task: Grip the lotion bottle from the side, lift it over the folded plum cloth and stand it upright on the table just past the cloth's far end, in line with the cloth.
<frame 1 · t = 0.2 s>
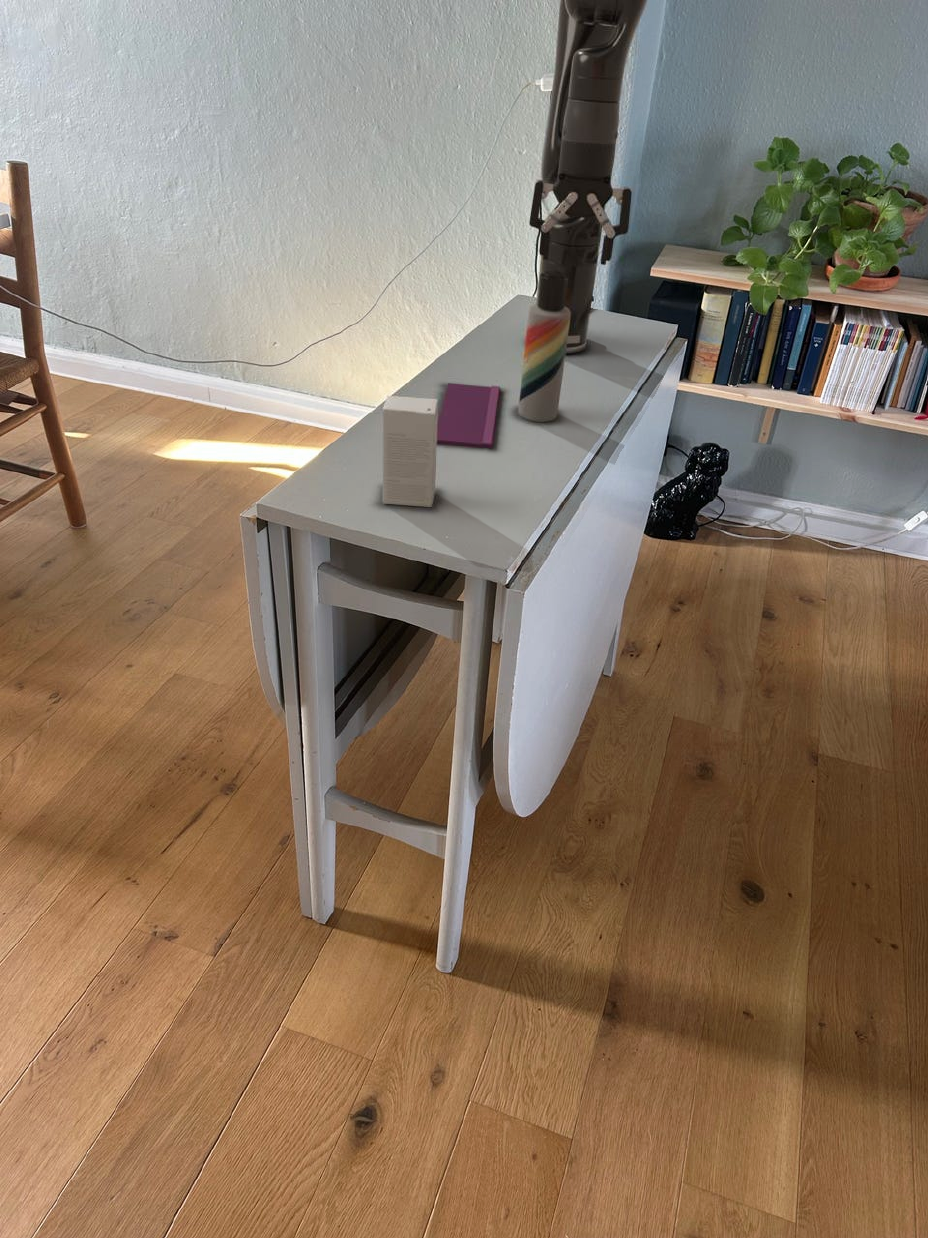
hand: (574, 261, 132), 17 cm above the table, tool pointing down, fingers open, 8 cm apart
lotion bottle: (537, 415, 129), on the table
cosmetic box: (408, 499, 107), on the table
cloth: (468, 415, 128), on the table
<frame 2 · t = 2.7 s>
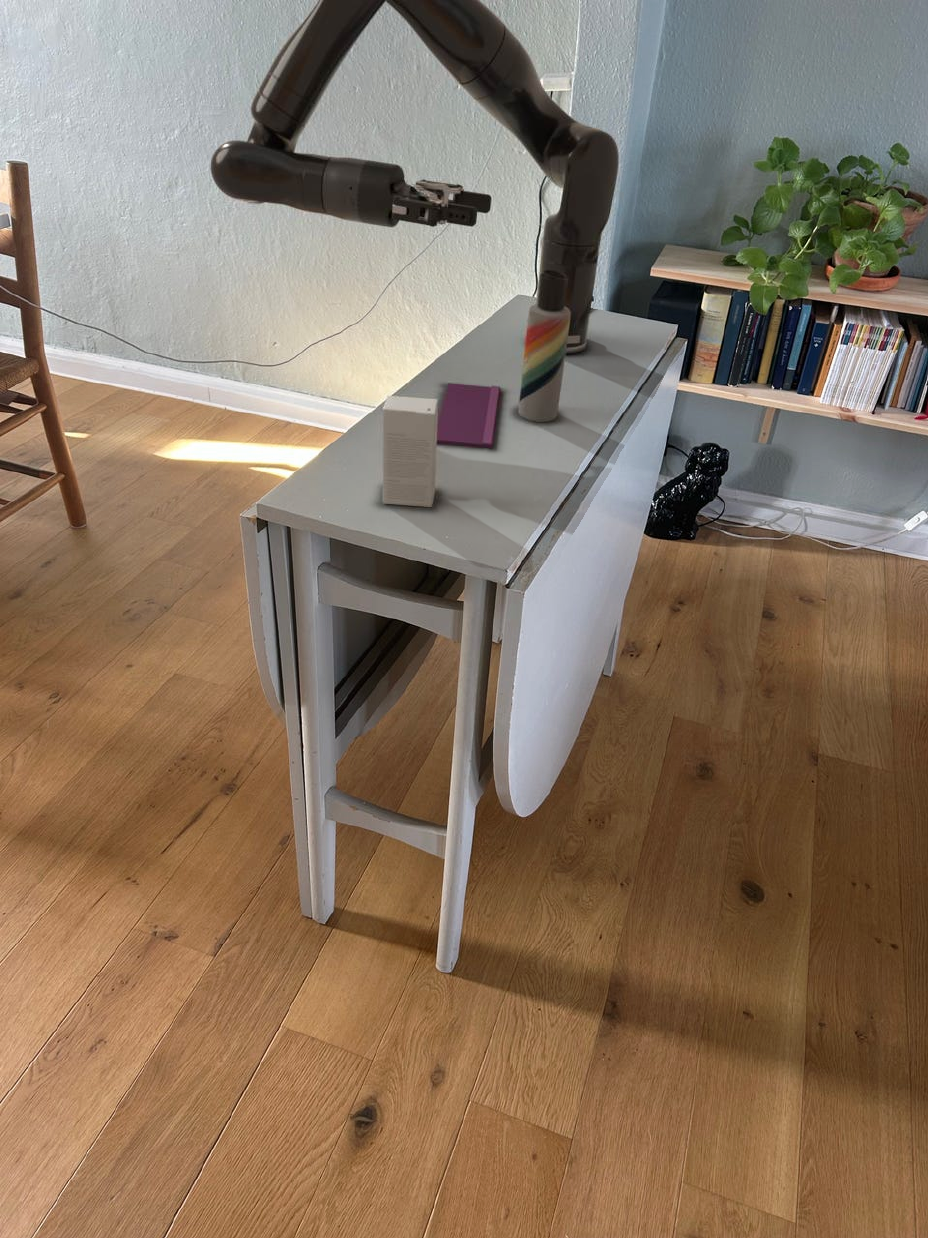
hand: (483, 210, 115), 26 cm above the table, tool horizontal, fingers open, 8 cm apart
nothing on the table moved.
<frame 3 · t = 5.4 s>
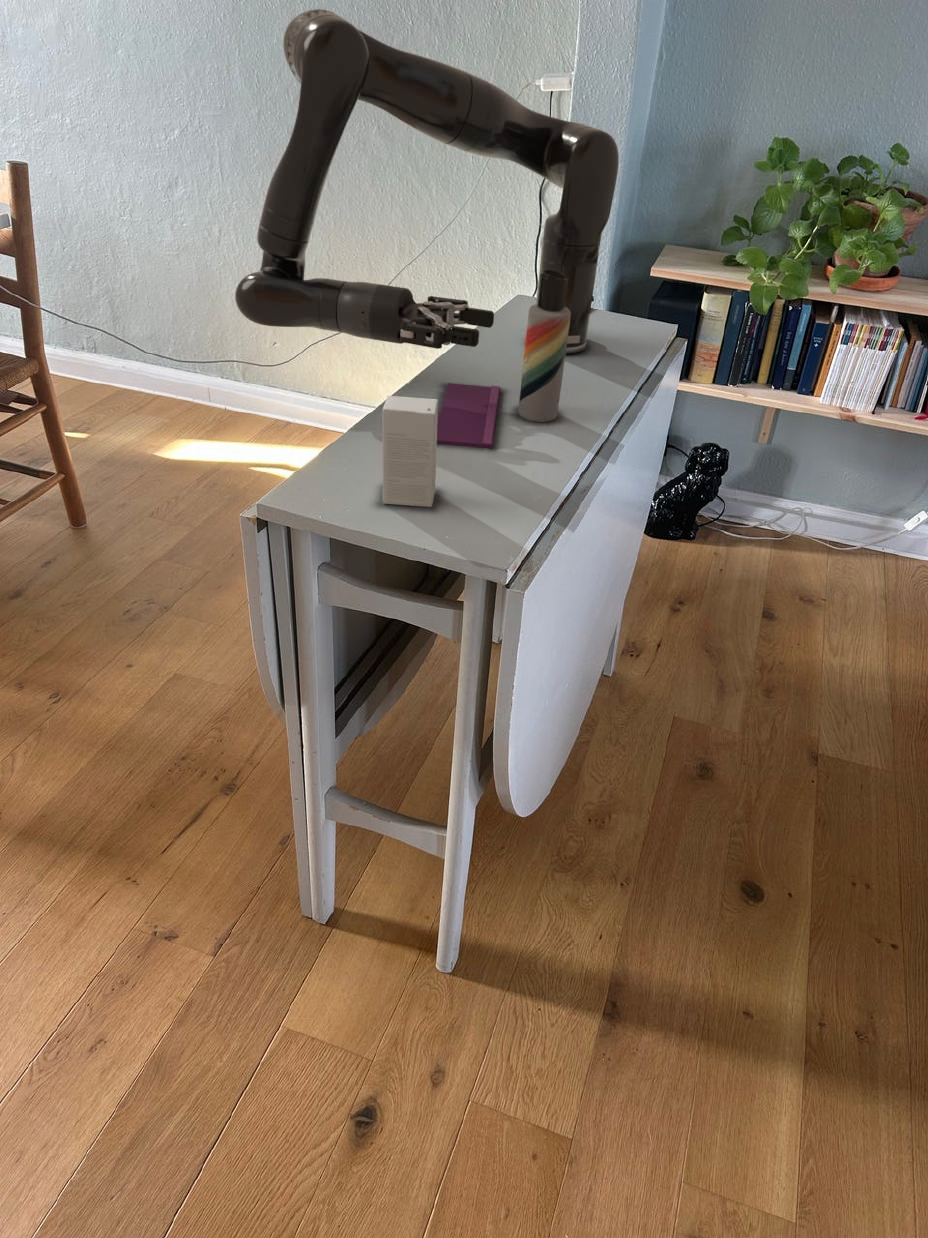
hand: (485, 328, 124), 11 cm above the table, tool horizontal, fingers open, 8 cm apart
nothing on the table moved.
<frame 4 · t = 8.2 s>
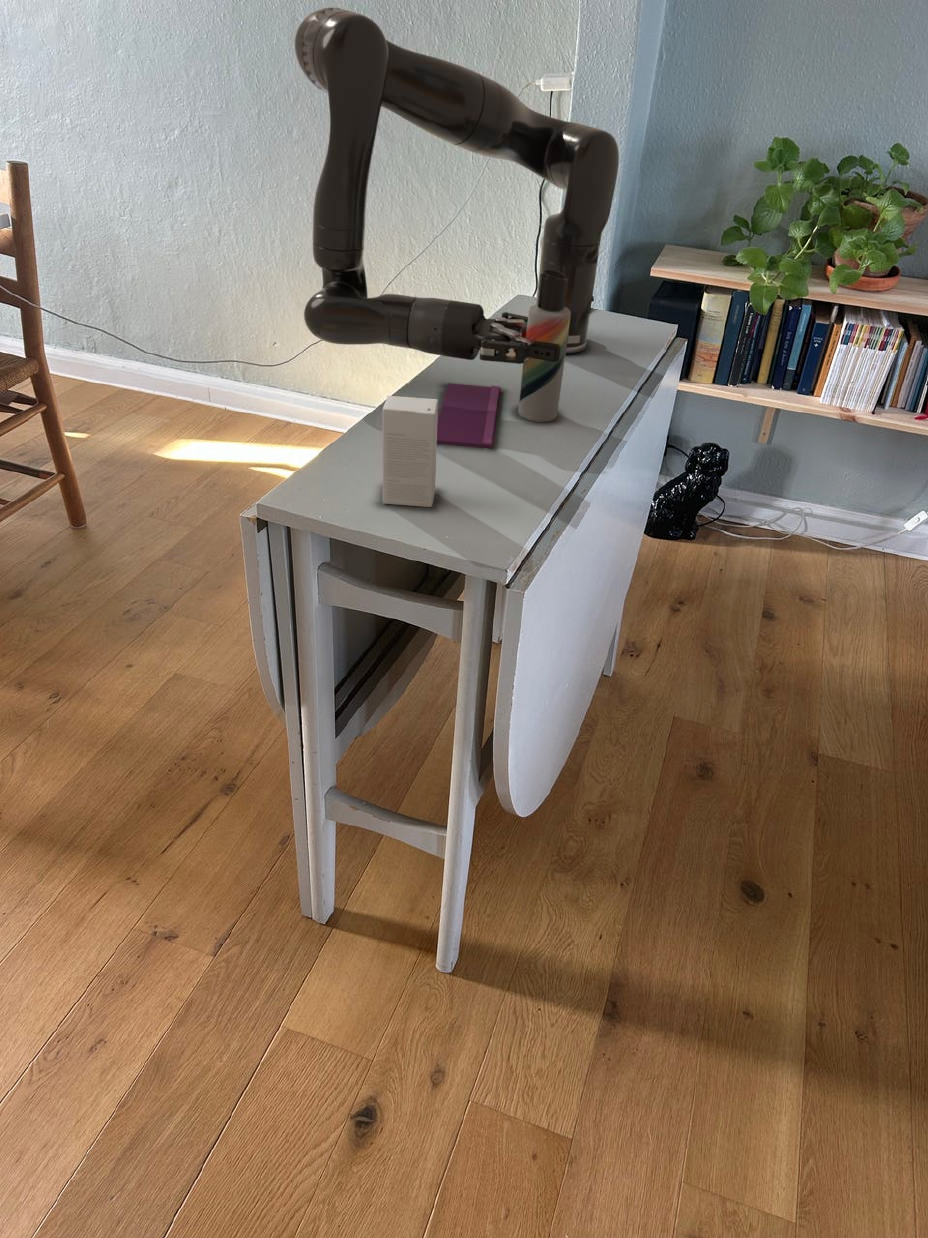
hand: (563, 345, 123), 11 cm above the table, tool horizontal, fingers closed on lotion bottle, 5 cm apart
lotion bottle: (537, 415, 129), on the table, touching gripper
everything else where it was.
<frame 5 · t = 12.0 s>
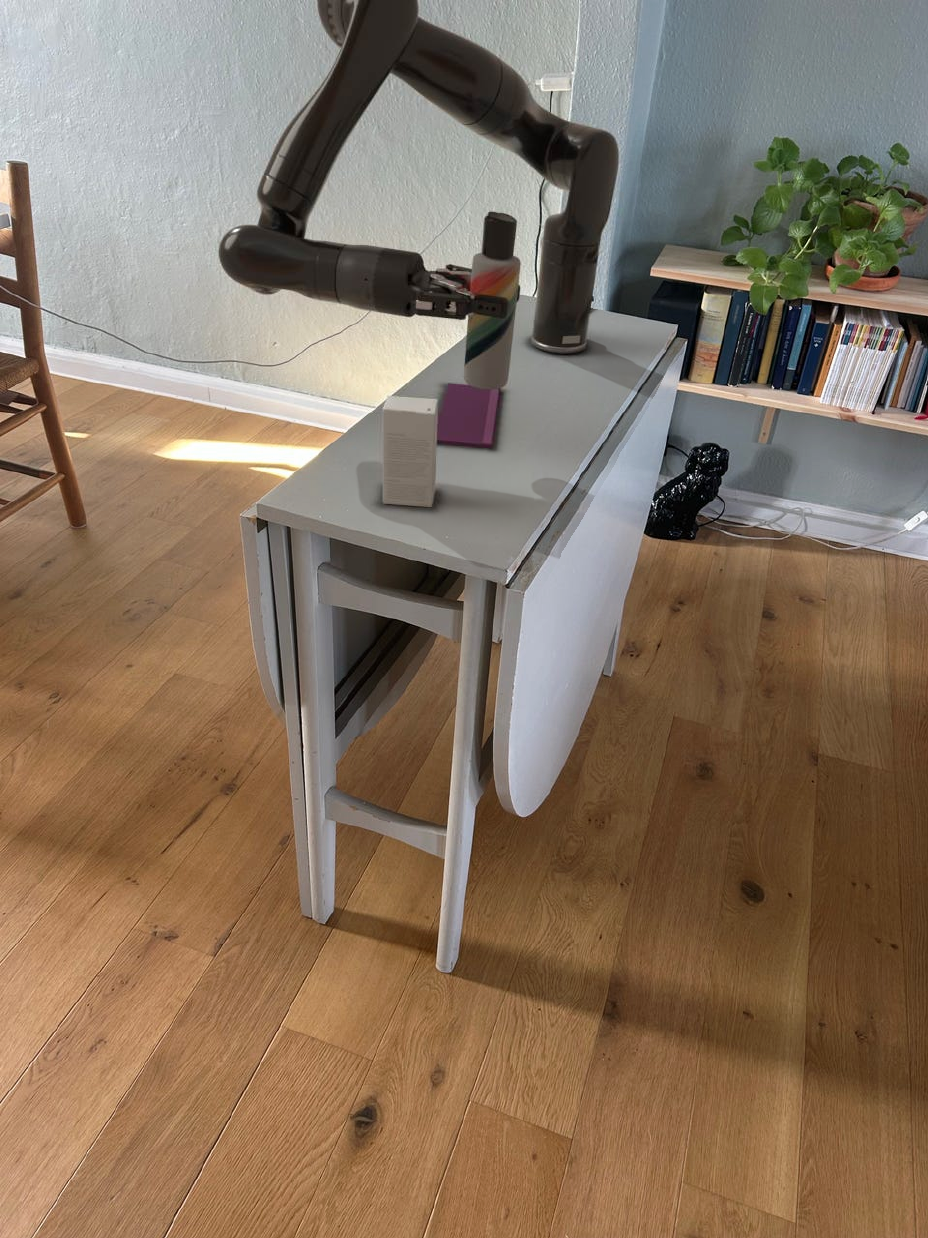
hand: (513, 301, 107), 20 cm above the table, tool horizontal, fingers closed on lotion bottle, 5 cm apart
lotion bottle: (485, 382, 114), point 9 cm above the table, touching gripper
everything else where it was.
when the fingers open (11 cm above the table, at t = 15.7 s): lotion bottle stays where it is, on the table.
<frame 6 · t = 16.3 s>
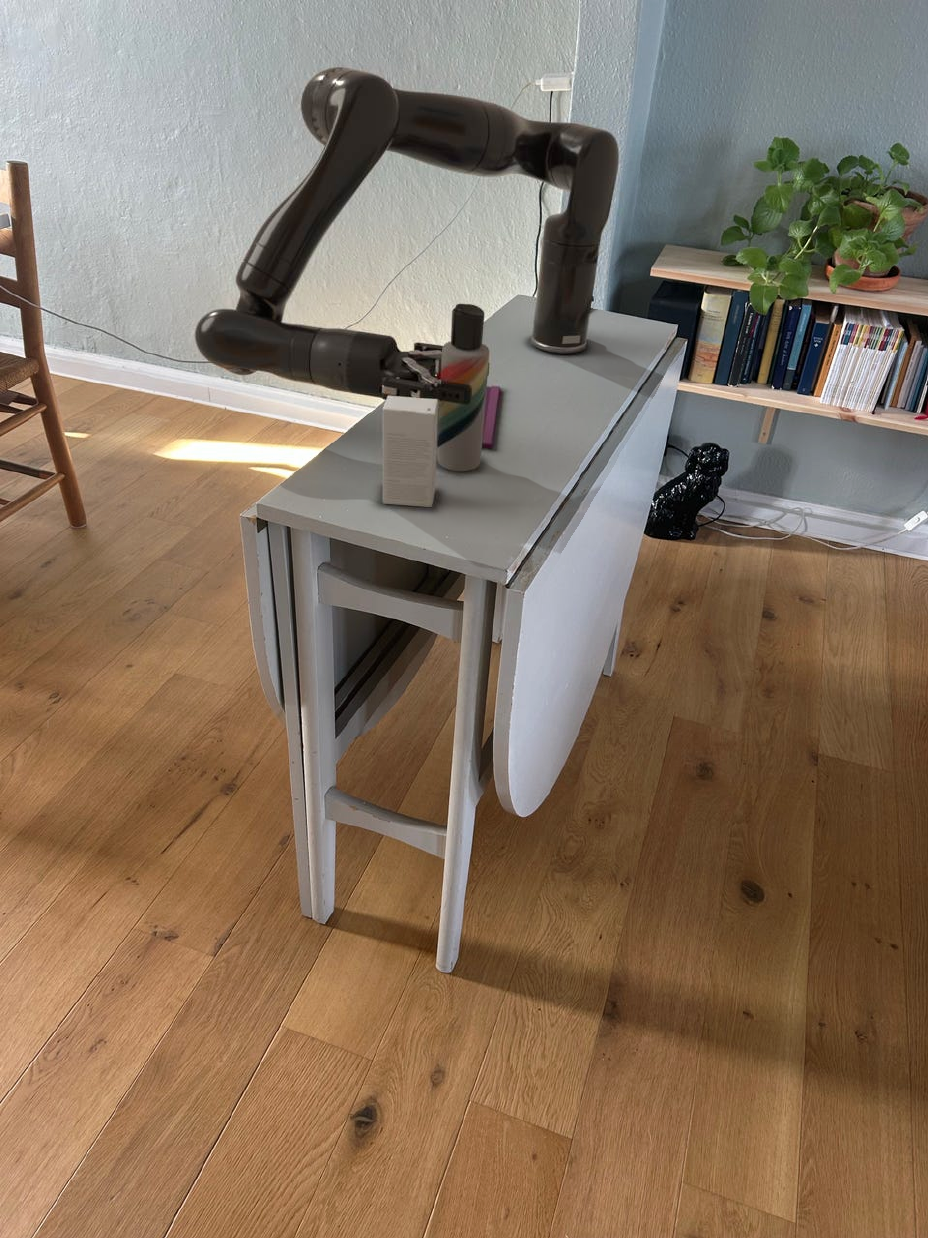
hand: (480, 382, 109), 11 cm above the table, tool horizontal, fingers open, 8 cm apart
lotion bottle: (458, 463, 116), on the table
everything else where it was.
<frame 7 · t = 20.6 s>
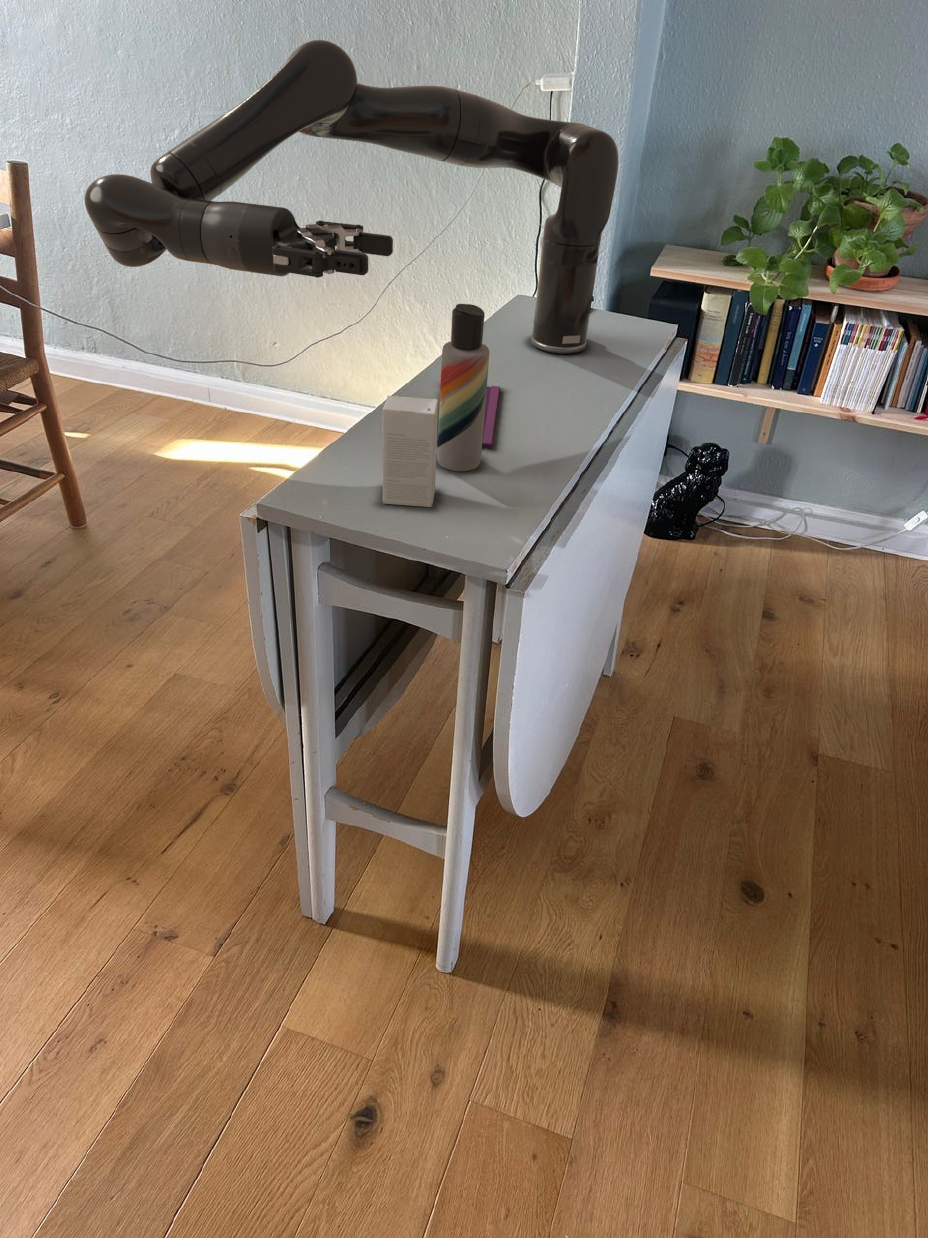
hand: (380, 255, 103), 24 cm above the table, tool horizontal, fingers open, 8 cm apart
nothing on the table moved.
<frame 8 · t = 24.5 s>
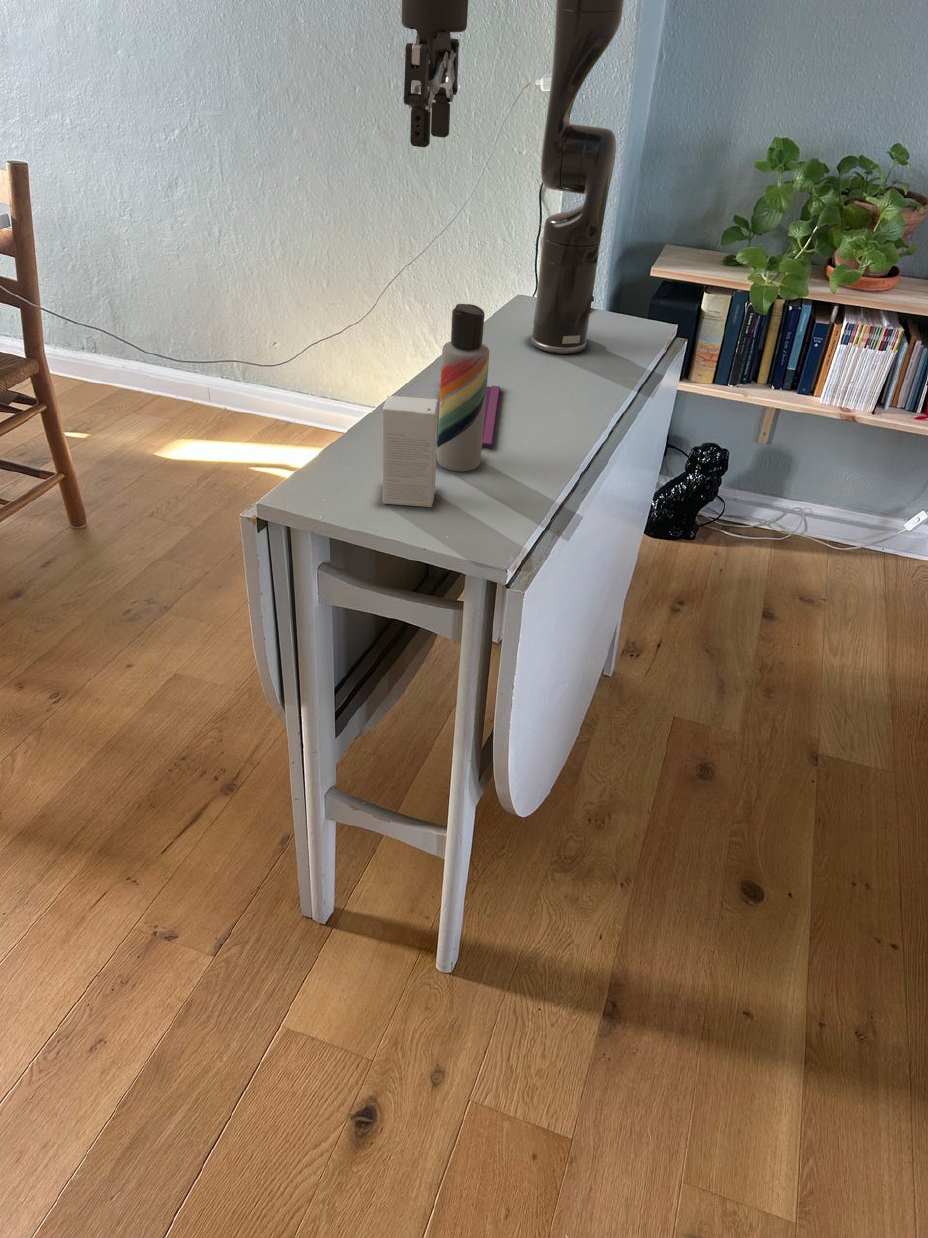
hand: (430, 141, 110), 34 cm above the table, tool pointing down, fingers open, 8 cm apart
nothing on the table moved.
at the end: lotion bottle 1.2 cm from the target spot on the table beside the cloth, on the table; lotion bottle tilted 0°; the gripper is holding nothing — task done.
